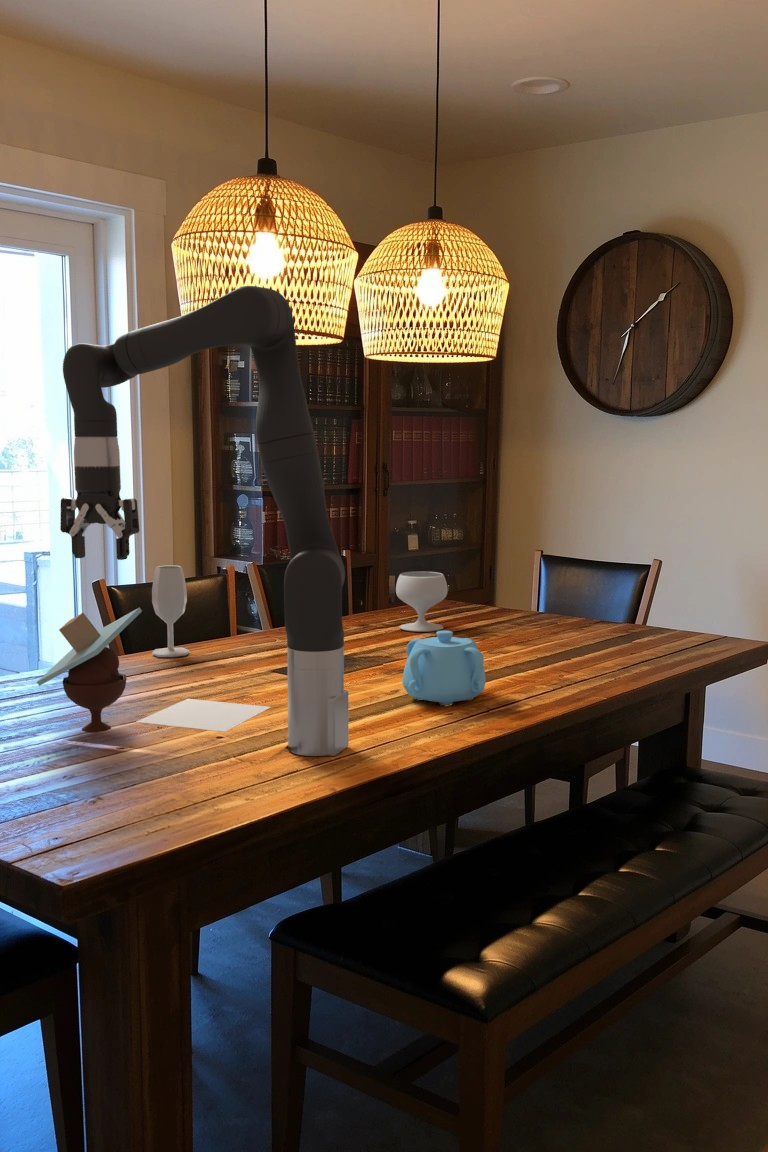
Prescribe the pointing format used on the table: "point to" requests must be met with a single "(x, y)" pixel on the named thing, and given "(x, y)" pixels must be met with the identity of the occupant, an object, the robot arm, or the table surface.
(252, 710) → the mat
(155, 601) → the wineglass
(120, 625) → the cover sheet
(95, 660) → the ice cream bowl
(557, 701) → the table surface
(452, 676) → the decorative pot
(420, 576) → the chalice
